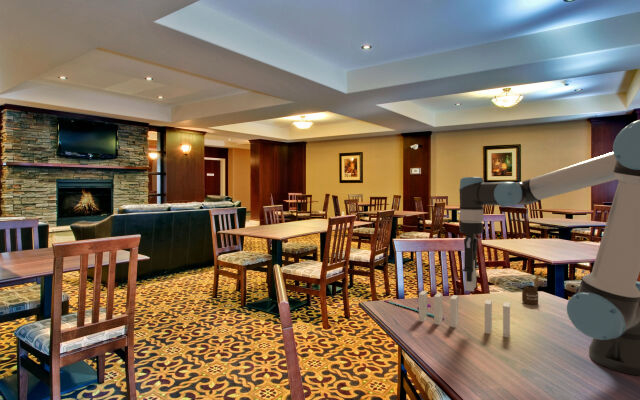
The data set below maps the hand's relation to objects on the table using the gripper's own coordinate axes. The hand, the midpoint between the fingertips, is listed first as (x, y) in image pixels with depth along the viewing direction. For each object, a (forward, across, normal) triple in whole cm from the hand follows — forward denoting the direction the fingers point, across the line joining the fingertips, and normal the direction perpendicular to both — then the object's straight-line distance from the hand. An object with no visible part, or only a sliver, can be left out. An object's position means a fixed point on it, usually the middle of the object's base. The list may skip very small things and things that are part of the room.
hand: (470, 288), depth 122 cm
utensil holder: (+14, -42, +18) cm, 48 cm away
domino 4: (0, 0, 0) cm, 0 cm away
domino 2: (+14, 0, -11) cm, 18 cm away
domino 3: (+14, 0, -5) cm, 15 cm away
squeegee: (+15, -12, -21) cm, 29 cm away
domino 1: (+14, 0, -16) cm, 21 cm away
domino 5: (+14, 0, +6) cm, 15 cm away
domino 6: (+14, 0, +11) cm, 18 cm away
